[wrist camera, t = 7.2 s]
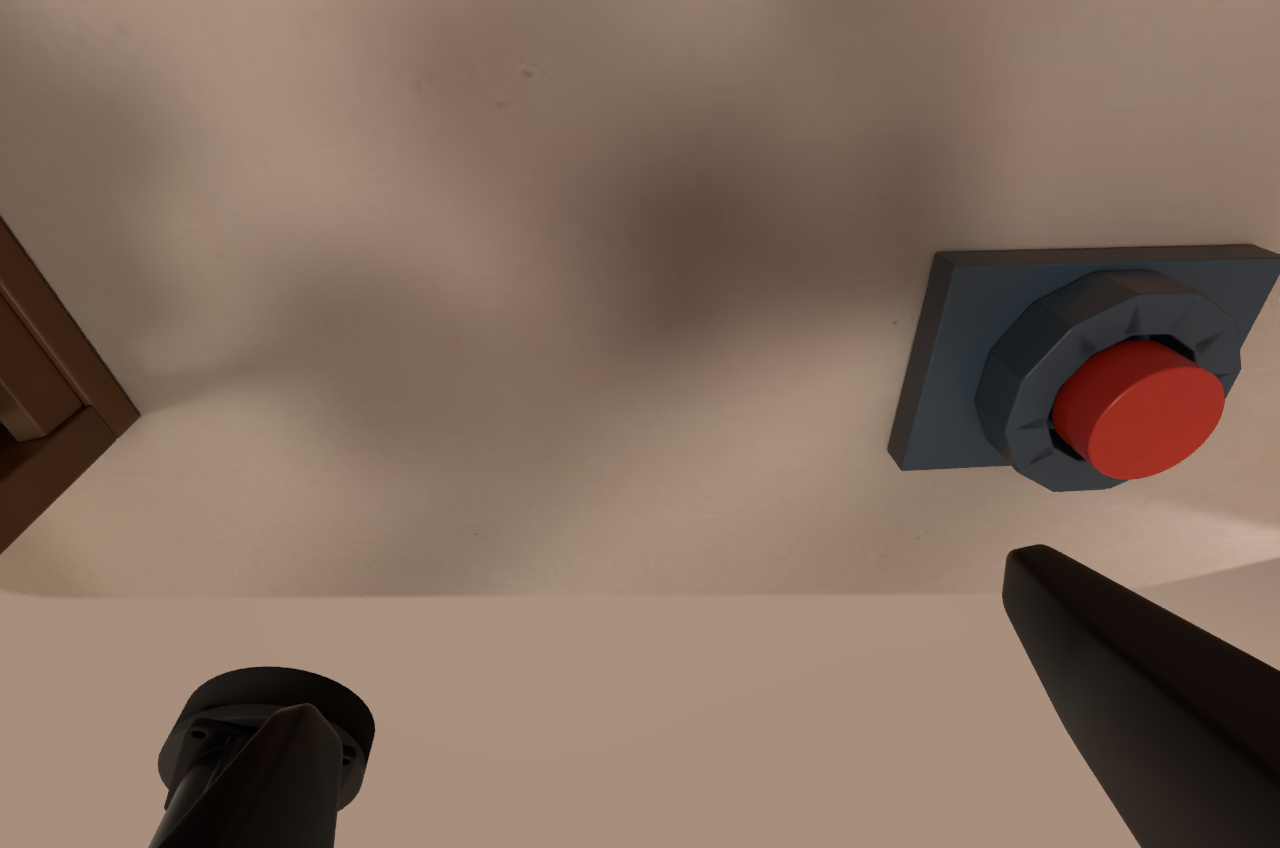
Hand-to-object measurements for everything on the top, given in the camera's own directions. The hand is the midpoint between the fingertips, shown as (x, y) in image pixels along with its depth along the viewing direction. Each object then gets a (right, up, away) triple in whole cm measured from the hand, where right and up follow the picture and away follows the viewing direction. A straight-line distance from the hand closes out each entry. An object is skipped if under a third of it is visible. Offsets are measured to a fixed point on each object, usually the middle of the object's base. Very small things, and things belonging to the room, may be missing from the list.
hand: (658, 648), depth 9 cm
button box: (+13, +5, +13) cm, 19 cm away
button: (+13, +4, +11) cm, 18 cm away
